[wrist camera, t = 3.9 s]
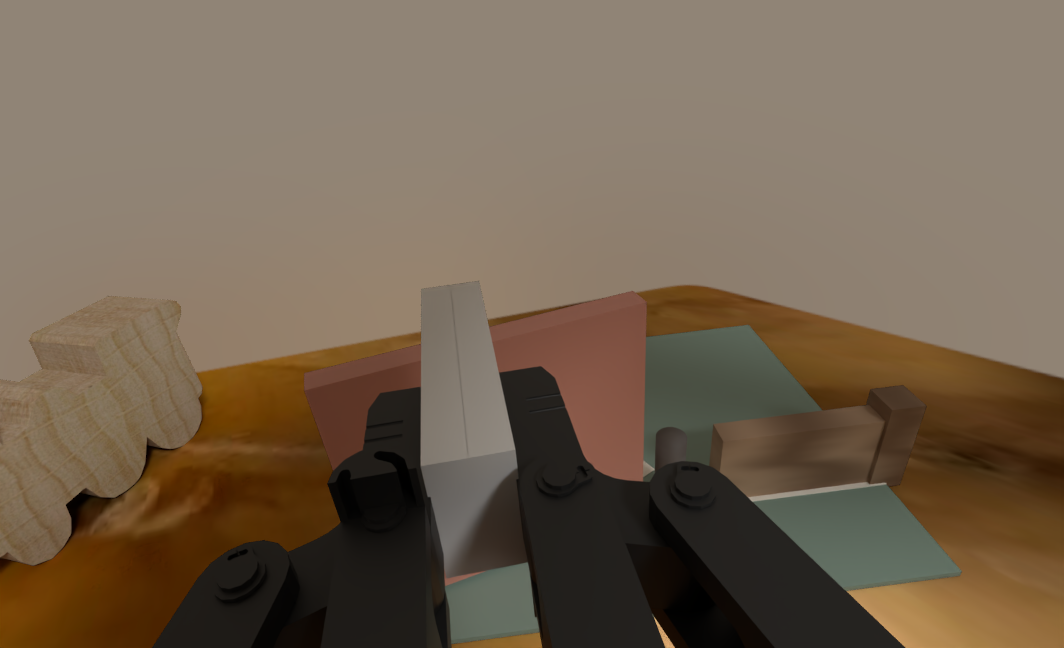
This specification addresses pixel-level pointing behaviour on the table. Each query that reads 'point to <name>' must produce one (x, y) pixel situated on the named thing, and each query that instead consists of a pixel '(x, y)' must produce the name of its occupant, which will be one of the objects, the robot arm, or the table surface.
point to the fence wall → (811, 446)
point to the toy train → (90, 416)
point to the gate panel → (542, 340)
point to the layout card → (805, 516)
